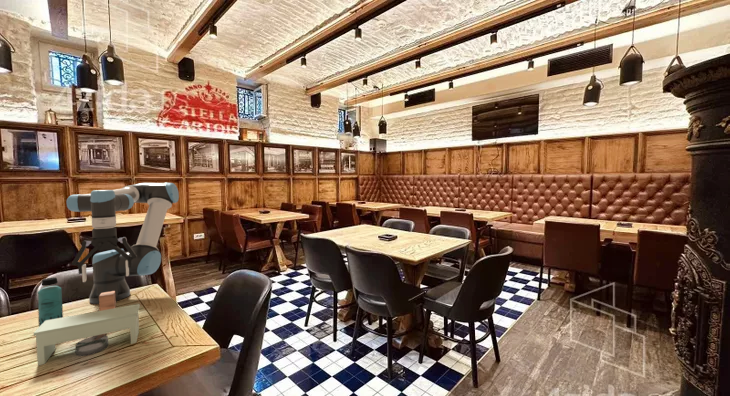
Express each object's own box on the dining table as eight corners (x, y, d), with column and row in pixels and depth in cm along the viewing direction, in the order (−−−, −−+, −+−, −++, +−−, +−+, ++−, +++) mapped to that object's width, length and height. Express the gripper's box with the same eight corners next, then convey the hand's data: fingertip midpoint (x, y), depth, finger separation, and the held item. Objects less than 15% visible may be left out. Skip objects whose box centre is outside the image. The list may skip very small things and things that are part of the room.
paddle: (102, 316, 125) (101, 292, 125) (116, 313, 127) (115, 290, 127) (89, 339, 106) (88, 312, 106) (106, 336, 108) (104, 309, 108)
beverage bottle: (39, 330, 113) (36, 278, 112) (63, 324, 118) (61, 274, 117) (38, 336, 108) (35, 282, 108) (64, 329, 113) (61, 278, 112)
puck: (79, 347, 101) (78, 339, 101) (110, 341, 105) (109, 332, 105) (72, 359, 94) (72, 350, 94) (105, 351, 99) (105, 342, 99)
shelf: (47, 350, 99) (45, 320, 99) (140, 330, 113) (139, 303, 112) (35, 366, 91) (33, 333, 90) (138, 342, 104) (136, 313, 104)
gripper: (59, 231, 113) (62, 286, 114) (141, 226, 126) (143, 275, 127) (65, 228, 119) (68, 281, 120) (142, 224, 132) (144, 271, 133)
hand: (106, 278), depth 124 cm, fingers open, 13 cm apart
